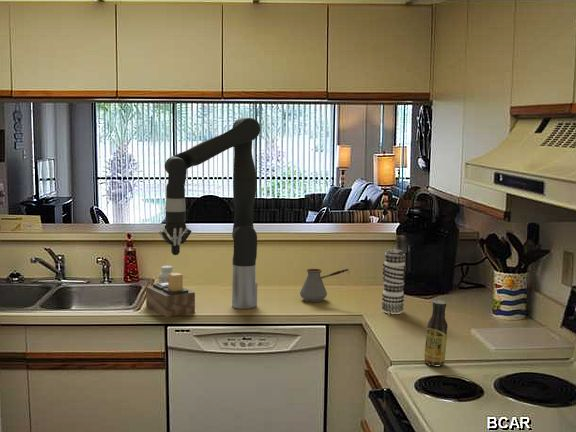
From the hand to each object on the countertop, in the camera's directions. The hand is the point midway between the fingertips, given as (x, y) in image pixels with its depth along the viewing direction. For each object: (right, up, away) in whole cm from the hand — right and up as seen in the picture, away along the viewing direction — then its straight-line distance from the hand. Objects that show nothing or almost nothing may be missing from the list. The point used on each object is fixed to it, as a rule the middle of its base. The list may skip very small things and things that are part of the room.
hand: (175, 254), depth 255 cm
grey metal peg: (-6, -20, +10) cm, 23 cm away
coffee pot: (+58, -21, +24) cm, 66 cm away
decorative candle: (+85, -24, +10) cm, 88 cm away
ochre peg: (0, -15, +2) cm, 16 cm away
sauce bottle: (+89, -31, -48) cm, 106 cm away
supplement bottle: (-8, -19, +26) cm, 33 cm away
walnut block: (-3, -22, +6) cm, 23 cm away
